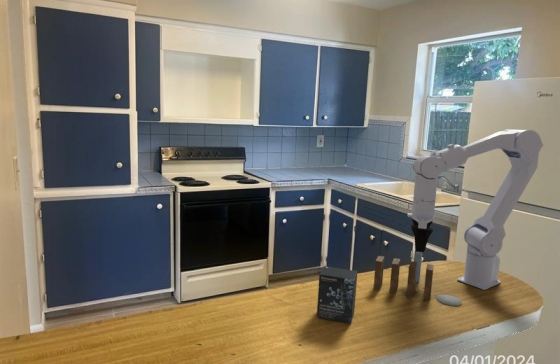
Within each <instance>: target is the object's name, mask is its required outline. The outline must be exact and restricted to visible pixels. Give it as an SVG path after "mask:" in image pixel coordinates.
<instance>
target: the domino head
mask: <svg viewBox="0 0 560 364" xmlns="http://www.w3.org/2000/svg"><path fill="white" fill-rule="evenodd" d="M414 255H415V256H414V262H417V268H416V278H415V283H420V278H421V272H422V271H421V270H422V261H423V260H422V259H423V252H417V251H416V250H415V253H414Z"/></svg>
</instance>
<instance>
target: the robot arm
mask: <svg viewBox="0 0 560 364" xmlns="http://www.w3.org/2000/svg"><path fill="white" fill-rule="evenodd" d="M543 146H544V143H543V141H542V139H541V136H540V134H539V133H538V132H537V131H536V130H533V129H515V128H507V129H504V130H501V131H496V132H495V133H492V134H490V135H487V136H486V137H485V136H484V137H483V138H481V139H478V140H476V141H474V142H471V143H469V144H466V145H464V146H463V145H462V146H461V145H460V144H453V143H450V144H447V145H446V147H445V148H442V149H441V150H438V151H435V150H434V151H433V150H432V151H431V152H430V155H425V154H424V155H421V156H418V157H417V158H416V159H415V161H414V163H413V164H412V170H413V172H414V173H415V177H414V178H415V179H414V186H413V188H414V189H413V198H412V199H413V201H412V210H411V211H412V212H411V213H410V212H407V217H408V218H411V221H412V224H411V225H410V229H411V230H412V231H411V232H412V234H413V238H414V248H415V252H416V251H417V252H422V253H425V251H426V248H427V243H428V241H429V238H430V236H431V234H432V233H433V232H434V228H433V227H431V226H432V224H433V221H435V208H436V200H437V189H438V188H437V187H438V178H439V177H440V176H441V174H442V173H444V172H447V171H450V170H452V169H455V168H457V167H461V166H464V165H466V163H467V161H468V159H469V158H473V157H475V156H477V155H478V156H479V155H481V154H485V153H488V152H491V151H493V150H497V149H498V150H501V151H502V152H503V153H504V154H505V155H506V156H507V158H508V159H509V161H510V164H511V168H510V169H509V170H508V173H507V175H506V176H505V178H504V180H503V181H502V183H501V185H500V187H499V188H498V190H497V192H496V194H495V195H494V197H493V199H492V200H491V202H490V204H489V206H488V207H487V210H486V211H485V212H484V215H483V216H480V217H478V218H477V219H475V220H474V222H473V224H471V225H470V226H469V227H467V229H466V230H465V231H464V233H463V234H464V235H463V239H464V241H465V243H466V244H467V247H466V257H465V265H464V274H463V276H461V277H458V278H457V281H458V282H461V283H464V284H467V285H470V286H472V287H474V288H478V289H481V290H484V291H486V290H487V289H490V288H492V287H494V286H496V285H499V284H501V282H502V281H501V280H499V271H500V264H501V260H500V257H499V255H498V254H499V253H500V251H502V248H503V242H504V238H505V237H506V232H505V231H506V230H505V227H504V226H505V223H507V220H508V218H509V216H510V215H511V214H512V212H513V210H514V208H515V206H516V205H517V203H518V201H519V199H520V198H521V196H522V194H523V193H524V191H525V190H526V188H527V186H528V185H529V183H530V181H531V179H532V178H533V176H534V175H535V173H536V171H537V169H538V163H539V157H540V155H539V154H540V152H541V150H542V148H543Z"/></svg>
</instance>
